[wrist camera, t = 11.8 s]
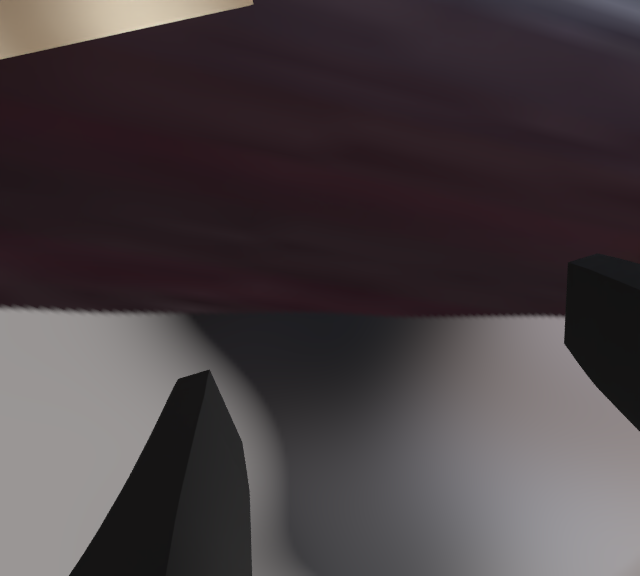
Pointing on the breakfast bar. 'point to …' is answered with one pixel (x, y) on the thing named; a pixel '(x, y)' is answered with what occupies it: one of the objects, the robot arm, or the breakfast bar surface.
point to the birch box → (90, 19)
